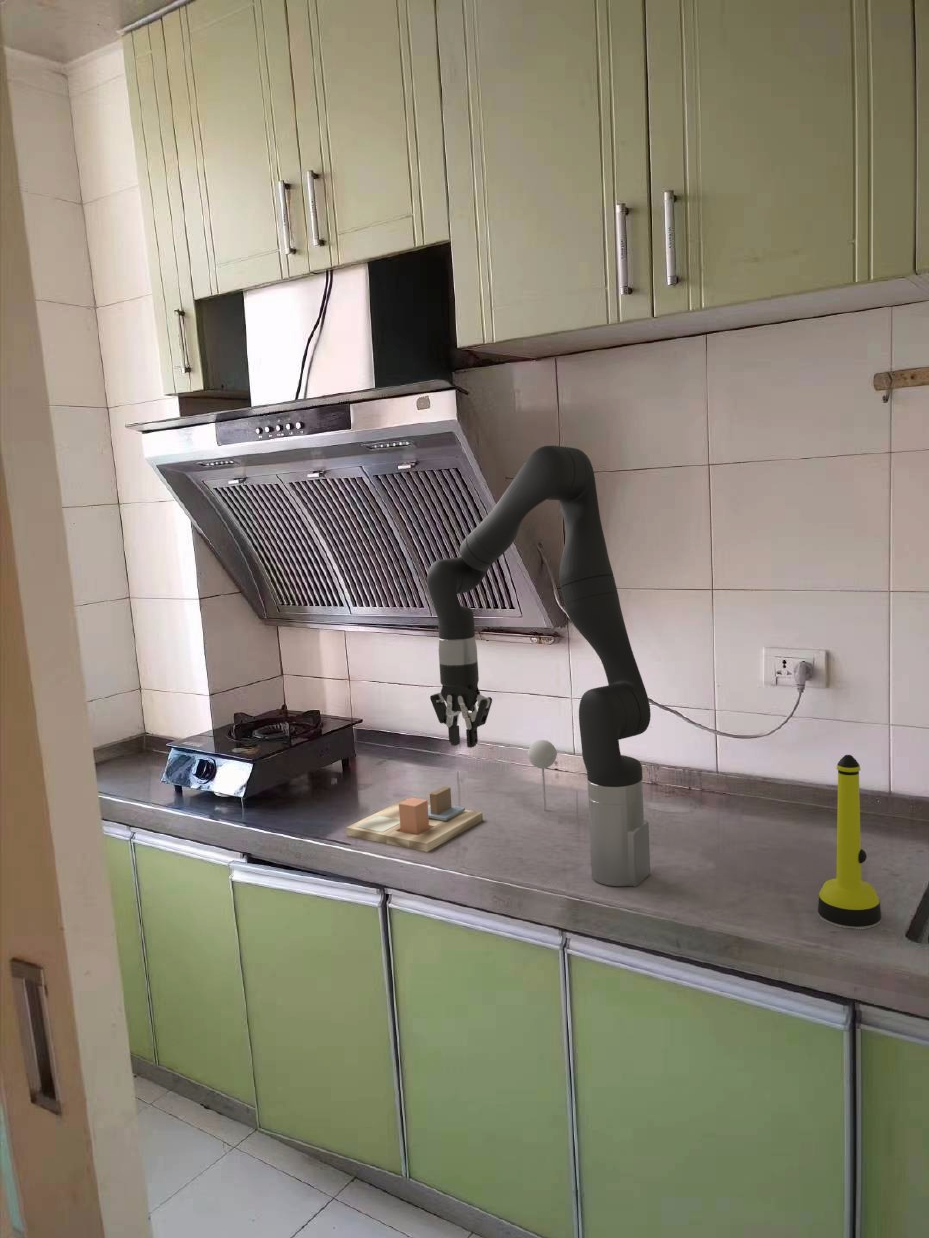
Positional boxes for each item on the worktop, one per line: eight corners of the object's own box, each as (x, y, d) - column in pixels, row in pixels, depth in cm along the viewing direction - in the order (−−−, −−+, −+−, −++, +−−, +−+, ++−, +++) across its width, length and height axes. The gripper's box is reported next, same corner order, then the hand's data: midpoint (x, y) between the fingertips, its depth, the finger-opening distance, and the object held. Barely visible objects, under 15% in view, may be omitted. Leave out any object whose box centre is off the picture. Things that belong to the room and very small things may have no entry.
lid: (465, 809, 192) (463, 787, 192) (445, 820, 187) (444, 797, 186) (437, 805, 196) (436, 783, 196) (417, 815, 191) (415, 793, 190)
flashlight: (810, 760, 137) (876, 766, 132) (822, 744, 145) (885, 749, 140) (812, 922, 140) (877, 933, 136) (823, 898, 148) (885, 909, 143)
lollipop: (564, 807, 197) (561, 737, 195) (552, 816, 192) (548, 745, 190) (537, 803, 201) (534, 735, 199) (525, 812, 196) (521, 742, 194)
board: (482, 821, 192) (482, 811, 191) (427, 853, 176) (426, 843, 176) (405, 807, 203) (404, 798, 203) (347, 836, 187) (346, 826, 187)
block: (429, 834, 185) (427, 800, 184) (417, 841, 182) (415, 806, 181) (413, 831, 187) (411, 797, 186) (401, 838, 184) (398, 803, 183)
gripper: (499, 658, 183) (503, 744, 185) (440, 655, 191) (445, 737, 193) (477, 665, 177) (482, 754, 179) (418, 661, 185) (423, 746, 187)
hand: (463, 745), depth 186 cm, fingers open, 3 cm apart
